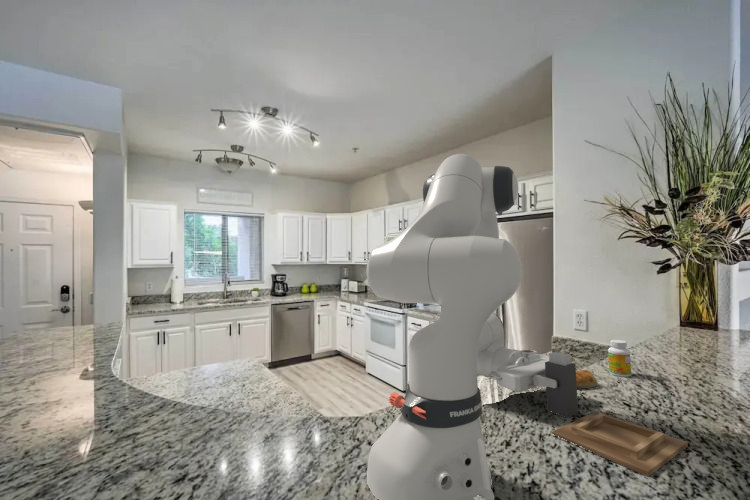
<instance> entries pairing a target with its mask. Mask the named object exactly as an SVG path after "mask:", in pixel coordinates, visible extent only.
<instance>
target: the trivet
mask: <svg viewBox="0 0 750 500" xmlns="http://www.w3.org/2000/svg"><path fill="white" fill-rule="evenodd" d="M552 434H554V435H556V436H559V437H560V438H563V439H565V440H567V441H569V442H572V443H574V444H577V445H579V446H582V447H583V448H585V449H587V450H590V451H592V452H593V453H592V454H594V453H596V454H598V455H600V456H599V457H601V456H602V457H601V458H603V457H604V458H603V459H605V458H606V460H609V461H610V460H611V461H610V462H613V463H615V464H618V465H620V466H623V467H624V468H626V469H629V470H631V471H634V472H635V473H639V474H641V475H643V476H646V477H650V476H651V475H652V474H654V473H656V471H658V470H660V469H661V468H662V467H663V466H664V465H666V464H667V463H669V461H671V460H672V459H674V458H675V457H676V456H677V455H679V454H680V453H682V452H683V451H684V450H685V449H686V448H688V447H689V442H688V441H686V440H683V439H680V438H677V437H674V436H670V435H668V434H665V433H664V432H660V431H658V430H654V429H653V428H648V427H646V426H642V425H638V424H636V423H633V422H629V421H627V420H623V419H621V418H619V417H616V416H615V417H614V416H612V415H609V414H605V413H603V412H597V411H593V412H591V413H589V414H587V415H584V416H583V417H581V418H578V419H576V420H574V421H572V422H570V423H567V424H566V425H563V426H562V427H559V428H557V429H555V430H553V431H551V435H552ZM587 450H586V451H587ZM596 454H595V455H596ZM598 455H597V456H598Z"/></svg>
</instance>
